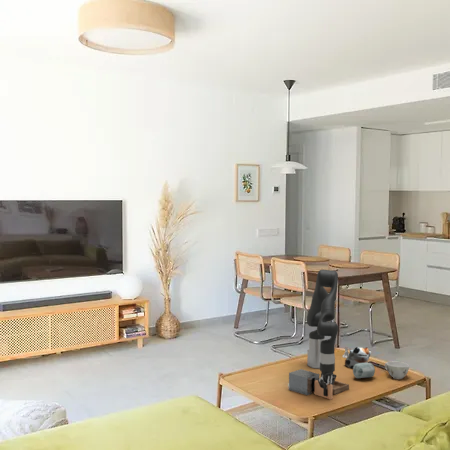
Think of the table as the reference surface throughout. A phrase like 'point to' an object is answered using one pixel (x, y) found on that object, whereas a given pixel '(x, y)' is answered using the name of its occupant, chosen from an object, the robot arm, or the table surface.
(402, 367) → the teacup
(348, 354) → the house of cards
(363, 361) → the lucky cat figurine
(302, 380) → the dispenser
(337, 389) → the tray
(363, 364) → the grey rounded cylinder
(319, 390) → the orange tan rectangular slab
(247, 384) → the table surface
